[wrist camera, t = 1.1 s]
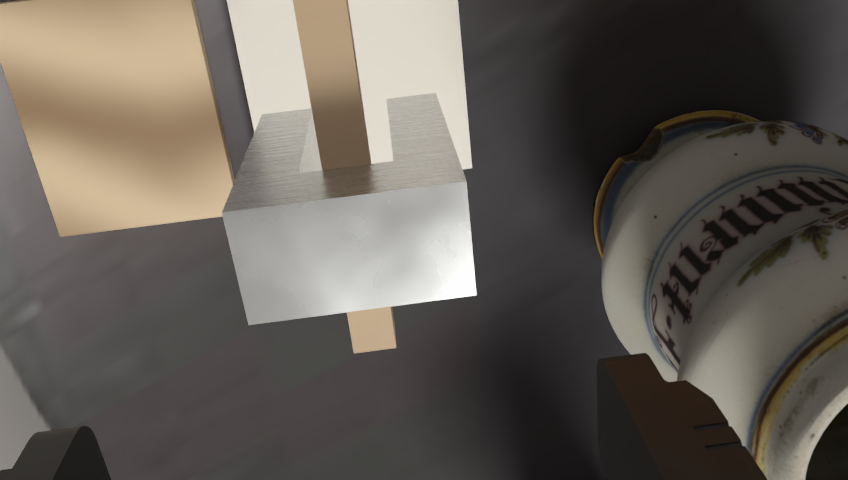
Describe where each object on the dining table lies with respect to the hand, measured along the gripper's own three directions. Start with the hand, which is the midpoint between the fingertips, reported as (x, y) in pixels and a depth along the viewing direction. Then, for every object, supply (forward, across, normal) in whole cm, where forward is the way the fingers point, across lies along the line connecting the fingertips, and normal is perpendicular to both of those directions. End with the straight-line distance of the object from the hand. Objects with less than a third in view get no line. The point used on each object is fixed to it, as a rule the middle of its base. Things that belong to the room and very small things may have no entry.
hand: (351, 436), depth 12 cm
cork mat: (+23, +10, 0) cm, 25 cm away
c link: (+15, 0, 0) cm, 15 cm away
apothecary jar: (+24, -15, +8) cm, 29 cm away
